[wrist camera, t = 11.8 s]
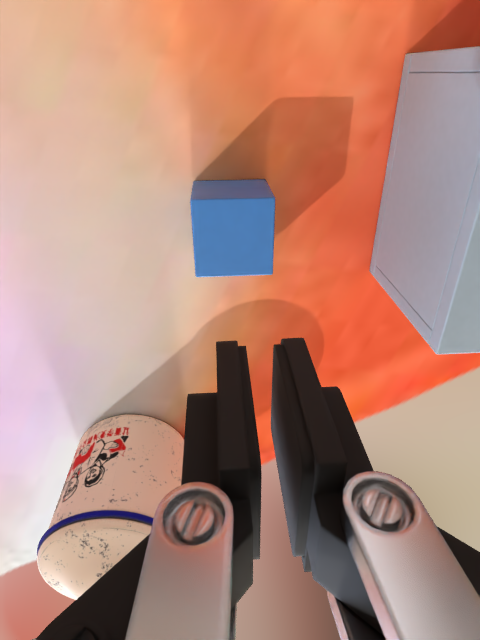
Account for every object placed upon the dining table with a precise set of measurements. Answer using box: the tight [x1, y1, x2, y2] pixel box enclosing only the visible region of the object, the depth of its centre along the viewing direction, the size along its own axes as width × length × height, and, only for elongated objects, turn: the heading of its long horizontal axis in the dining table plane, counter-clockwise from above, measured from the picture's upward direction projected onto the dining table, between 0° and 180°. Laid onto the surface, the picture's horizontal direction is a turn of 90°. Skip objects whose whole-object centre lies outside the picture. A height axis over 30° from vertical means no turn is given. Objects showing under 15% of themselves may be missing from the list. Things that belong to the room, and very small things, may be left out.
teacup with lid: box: [37, 415, 184, 600], centre depth 29 cm, size 12×9×12 cm
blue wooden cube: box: [190, 179, 275, 277], centre depth 22 cm, size 4×4×4 cm
